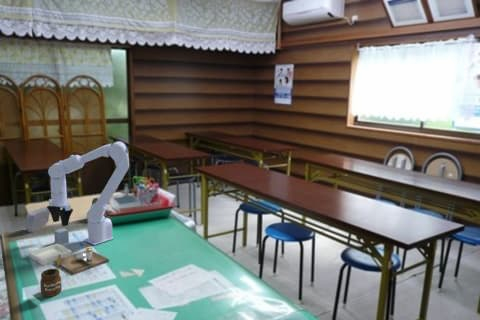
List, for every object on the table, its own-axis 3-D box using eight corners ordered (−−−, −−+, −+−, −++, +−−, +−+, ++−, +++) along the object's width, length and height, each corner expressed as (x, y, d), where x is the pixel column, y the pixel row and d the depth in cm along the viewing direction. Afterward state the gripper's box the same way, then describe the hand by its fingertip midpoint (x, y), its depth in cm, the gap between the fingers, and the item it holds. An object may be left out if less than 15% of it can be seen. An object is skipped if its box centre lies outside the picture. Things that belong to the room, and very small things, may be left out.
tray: (57, 248, 152) (57, 243, 152) (71, 255, 145) (71, 250, 145) (29, 256, 143) (28, 252, 143) (42, 265, 137) (42, 260, 136)
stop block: (64, 241, 160) (63, 227, 159) (69, 243, 157) (68, 230, 156) (54, 243, 156) (54, 230, 155) (59, 246, 154) (58, 232, 153)
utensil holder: (38, 292, 118) (35, 256, 116) (59, 285, 123) (57, 251, 121) (44, 299, 114) (41, 263, 112) (65, 292, 118) (63, 257, 116)
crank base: (89, 251, 149) (88, 249, 149) (109, 261, 141) (108, 258, 141) (54, 263, 139) (54, 260, 138) (73, 274, 130) (73, 271, 130)
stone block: (34, 235, 165) (32, 213, 164) (25, 234, 166) (23, 212, 164) (52, 226, 177) (51, 206, 175) (43, 225, 178) (42, 205, 176)
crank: (74, 259, 139) (73, 245, 138) (83, 256, 142) (82, 242, 141) (86, 266, 134) (85, 251, 133) (95, 262, 137) (94, 248, 136)
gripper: (40, 190, 154) (42, 221, 157) (57, 197, 146) (59, 230, 148) (57, 187, 160) (59, 218, 162) (75, 193, 151) (76, 225, 153)
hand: (60, 223), depth 155 cm, fingers open, 7 cm apart
